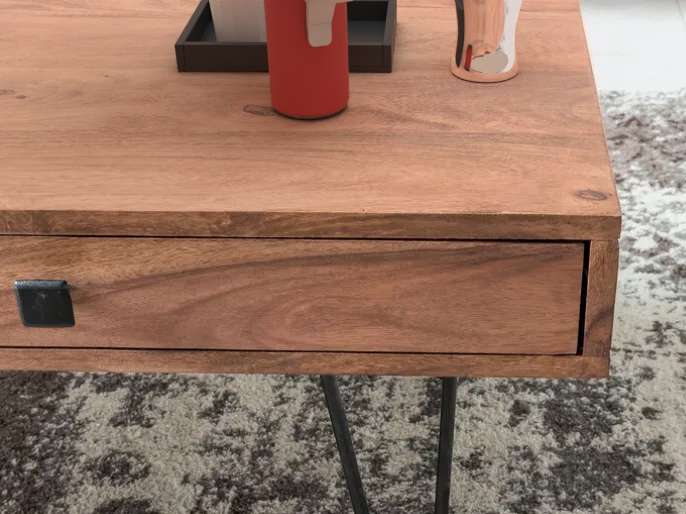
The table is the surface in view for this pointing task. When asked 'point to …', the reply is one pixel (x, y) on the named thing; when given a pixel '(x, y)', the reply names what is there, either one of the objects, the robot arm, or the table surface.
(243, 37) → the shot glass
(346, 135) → the table surface
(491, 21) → the beer glass
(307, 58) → the beer can
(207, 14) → the tray
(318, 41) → the robot arm
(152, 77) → the table surface
